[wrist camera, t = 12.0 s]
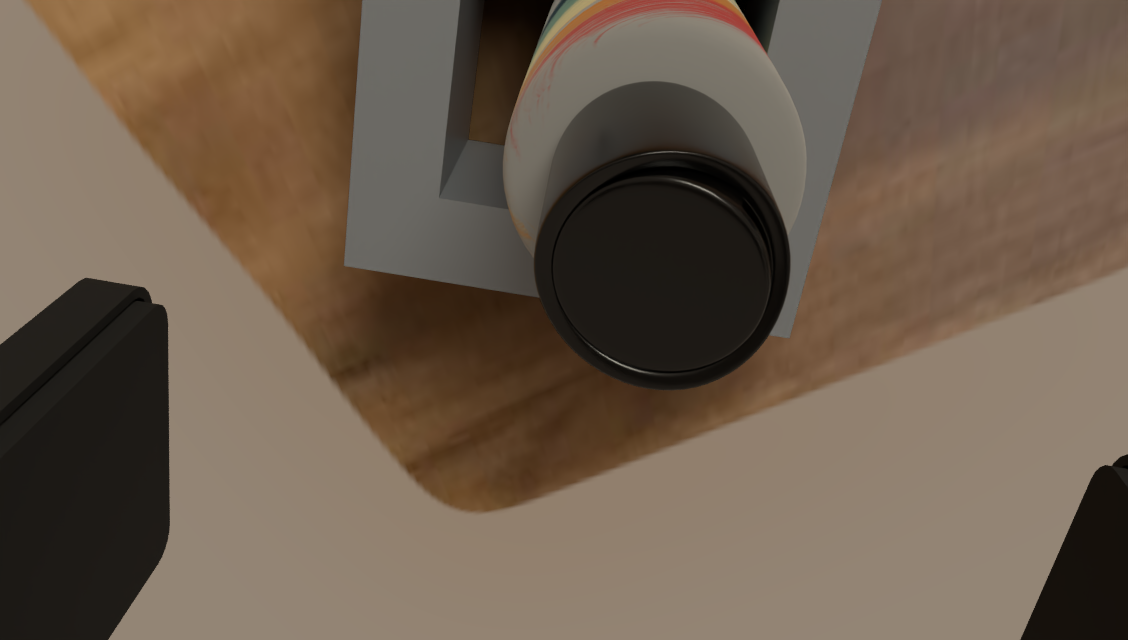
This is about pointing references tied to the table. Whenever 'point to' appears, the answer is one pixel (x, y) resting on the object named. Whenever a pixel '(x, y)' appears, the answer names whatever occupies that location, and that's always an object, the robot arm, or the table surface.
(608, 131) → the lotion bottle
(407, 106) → the sleeve
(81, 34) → the table surface
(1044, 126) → the table surface
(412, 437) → the table surface
